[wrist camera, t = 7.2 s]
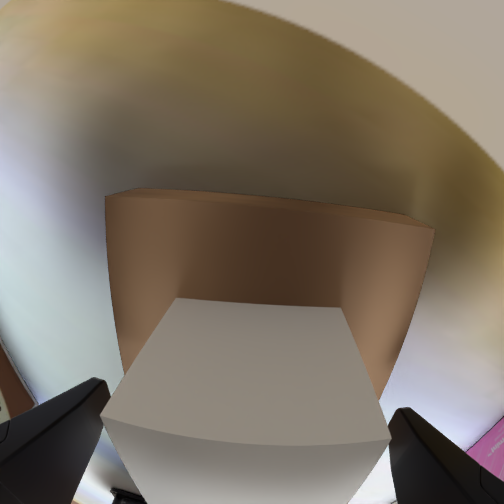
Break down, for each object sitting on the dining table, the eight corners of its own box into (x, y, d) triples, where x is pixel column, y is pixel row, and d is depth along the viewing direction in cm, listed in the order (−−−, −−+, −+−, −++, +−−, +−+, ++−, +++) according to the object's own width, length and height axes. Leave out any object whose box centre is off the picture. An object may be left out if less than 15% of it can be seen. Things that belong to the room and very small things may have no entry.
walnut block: (158, 396, 14) (140, 435, 11) (144, 186, 11) (105, 196, 8) (339, 414, 14) (348, 456, 11) (398, 212, 10) (435, 229, 8)
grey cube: (188, 408, 10) (154, 513, 5) (176, 297, 9) (99, 415, 4) (315, 417, 10) (326, 528, 5) (340, 307, 9) (391, 438, 4)
